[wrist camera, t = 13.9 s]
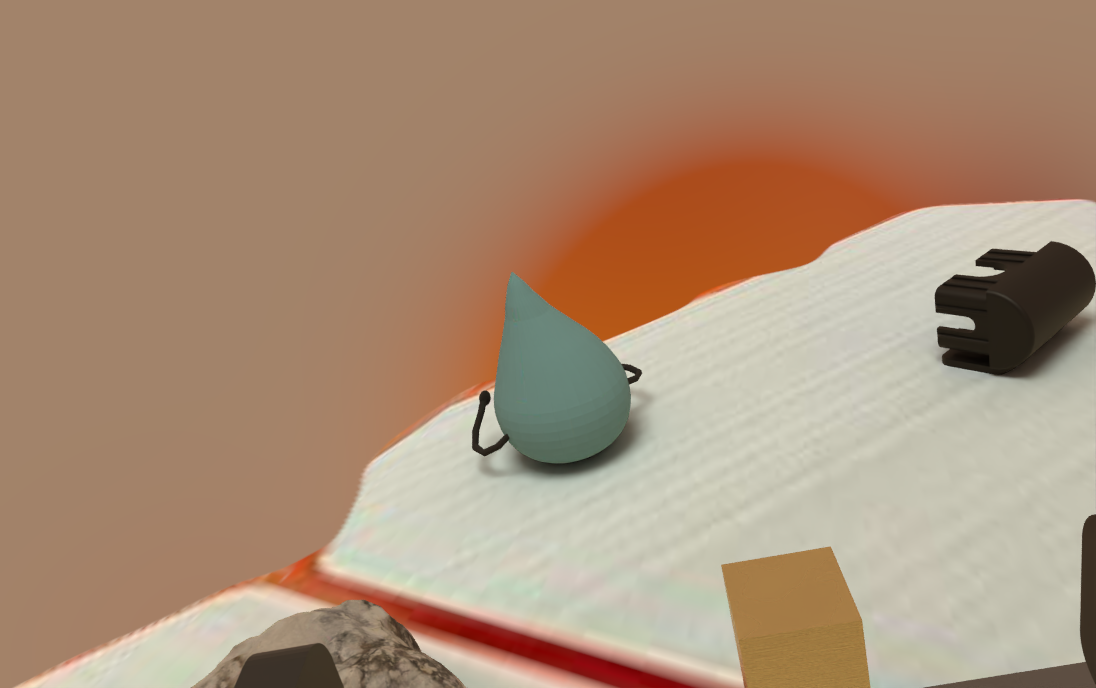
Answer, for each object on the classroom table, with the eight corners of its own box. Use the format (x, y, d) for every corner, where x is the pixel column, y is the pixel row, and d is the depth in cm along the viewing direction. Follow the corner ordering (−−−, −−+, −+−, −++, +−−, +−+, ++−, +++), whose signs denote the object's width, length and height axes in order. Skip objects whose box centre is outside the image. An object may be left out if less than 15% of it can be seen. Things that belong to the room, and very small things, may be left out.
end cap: (1034, 386, 62) (1032, 295, 60) (936, 368, 68) (930, 284, 65) (1097, 328, 68) (1097, 243, 65) (1001, 315, 73) (998, 236, 70)
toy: (614, 385, 77) (577, 218, 72) (698, 426, 68) (662, 237, 62) (461, 458, 72) (407, 282, 66) (528, 514, 62) (472, 314, 56)
